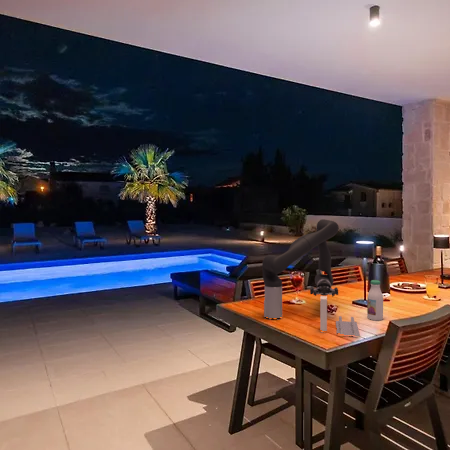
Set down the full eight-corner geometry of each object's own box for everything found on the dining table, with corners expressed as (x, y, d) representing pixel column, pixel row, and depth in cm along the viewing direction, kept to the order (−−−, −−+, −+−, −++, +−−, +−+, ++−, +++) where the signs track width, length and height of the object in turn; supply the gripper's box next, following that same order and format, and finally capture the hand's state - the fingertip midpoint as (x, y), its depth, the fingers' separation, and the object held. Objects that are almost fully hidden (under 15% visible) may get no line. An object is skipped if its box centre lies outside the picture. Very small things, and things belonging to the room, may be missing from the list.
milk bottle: (379, 316, 213) (379, 279, 211) (385, 320, 205) (386, 282, 204) (364, 316, 212) (365, 279, 211) (370, 321, 205) (371, 282, 203)
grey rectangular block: (320, 332, 189) (320, 299, 188) (320, 328, 195) (320, 295, 194) (326, 332, 189) (327, 299, 187) (326, 328, 194) (326, 296, 193)
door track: (337, 336, 184) (337, 328, 183) (335, 322, 203) (335, 316, 203) (360, 337, 181) (360, 330, 181) (356, 324, 201) (356, 317, 200)
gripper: (310, 279, 221) (309, 286, 205) (337, 280, 218) (338, 287, 202) (310, 293, 222) (309, 301, 206) (337, 294, 218) (338, 302, 202)
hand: (324, 294), depth 204 cm, fingers open, 8 cm apart
